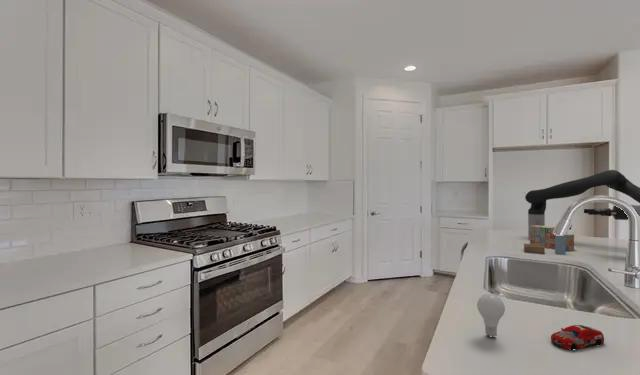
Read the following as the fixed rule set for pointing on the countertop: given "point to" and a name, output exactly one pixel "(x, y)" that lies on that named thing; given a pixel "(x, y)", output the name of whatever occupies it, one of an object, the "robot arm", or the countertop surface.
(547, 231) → the stack of blocks
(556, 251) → the pillar block
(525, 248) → the base block
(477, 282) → the countertop surface
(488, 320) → the lightbulb
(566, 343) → the race car
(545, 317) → the countertop surface
